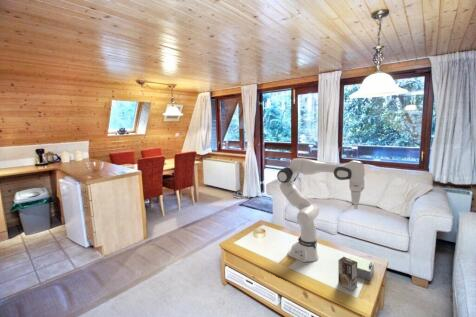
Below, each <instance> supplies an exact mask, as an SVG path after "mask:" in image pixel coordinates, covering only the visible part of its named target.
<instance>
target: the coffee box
mask: <svg viewBox="0 0 476 317" xmlns="http://www.w3.org/2000/svg"><path fill="white" fill-rule="evenodd" d="M349 258H350V257H349ZM349 258H347V257H346V256H342V257H341V258H339V259H338V271H337V272H338V277H337V278H338V280H337V281H338V282H337V283H338V285H340V286H342V287H344V288H346V289H348V290H350V291H352V292H353V291H354V290H355V289H356V288H358V277H357V262H356V261H353V260H351V259H349Z"/></svg>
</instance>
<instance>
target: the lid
mask: <svg viewBox="0 0 476 317" xmlns="http://www.w3.org/2000/svg"><path fill="white" fill-rule="evenodd" d="M349 259H351V260H353V261H356V262H357V269H360V270H364V271H367V272H371V269H372V267H373V264H374V265H375V263H374V262H373V261H369V260H366V259H364V258H363V259H362V258H359V257H355V256H349Z"/></svg>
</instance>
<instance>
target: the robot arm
mask: <svg viewBox="0 0 476 317" xmlns="http://www.w3.org/2000/svg"><path fill="white" fill-rule="evenodd" d="M318 173H319V174H320V173H333V175H334V178H335V179H337V180H339V181H345V180H346V181H347V180H348V181H349V185H348V186H349V191H350V194H351V202H352V204H353V206H354V207H353V208H354V210H357V209H358V206H359V204H360V200H361V194H362V192H363V190H365V174H366V170H365V164H364V162H362V161H359V160H351V161H349V162H344V163H339V164H335V163H329V162H321V161H318V160H314V159H309V158H302V157H299V158H298V157H297V158H295V157H294V158H292V160H290V164H289V166H285V167H283V168H281V169H280V170H279V171H278V172H277V175H276V178H277V180H278V181H279V182H280V184H279V189H280V191H281V193H282V194H283V196H284V197H285V198H286V199H287V201H288V202H289V204H290V205H291V206H292V207H295V208H296V209H298V210H299V211H298V213H297V215H296V220H297V222H298V223H299V228H300V235H299V237H298V238H297V241H296V242H295V243H293V244H292V246H291V248H290V249H289V250H288V252H287V255H288V256H289V257H292V258H294V259H295V260H298V261H301V262H302V263H307V262H315V261H318V259H319V254H318V250H317V247H318V240H317V229H316V226H315V222H314V221H315V219H316V218H317V217H318V216H319V214H320V208H319V206H318V205H316V203H315V204H314V203H312V202H311V201H310V200H309V199H307V198H306V197H305V196H304V195H303V193H301V191H300V190H299V189H298V188H297V186H296V185H295V184H294V182H295V181H296V180H297V179H298V176H299V175H300V174H303V175H316V174H318Z"/></svg>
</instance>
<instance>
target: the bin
mask: <svg viewBox="0 0 476 317" xmlns="http://www.w3.org/2000/svg"><path fill="white" fill-rule="evenodd" d="M374 266H375V263H374V264H373V267H372V269H371V272H367V271H364V270H360V269H357V278H360V279H364V280H367V281H369V282H370V281H371V279H372V276H373V274H374V270H375V269H374Z"/></svg>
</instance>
